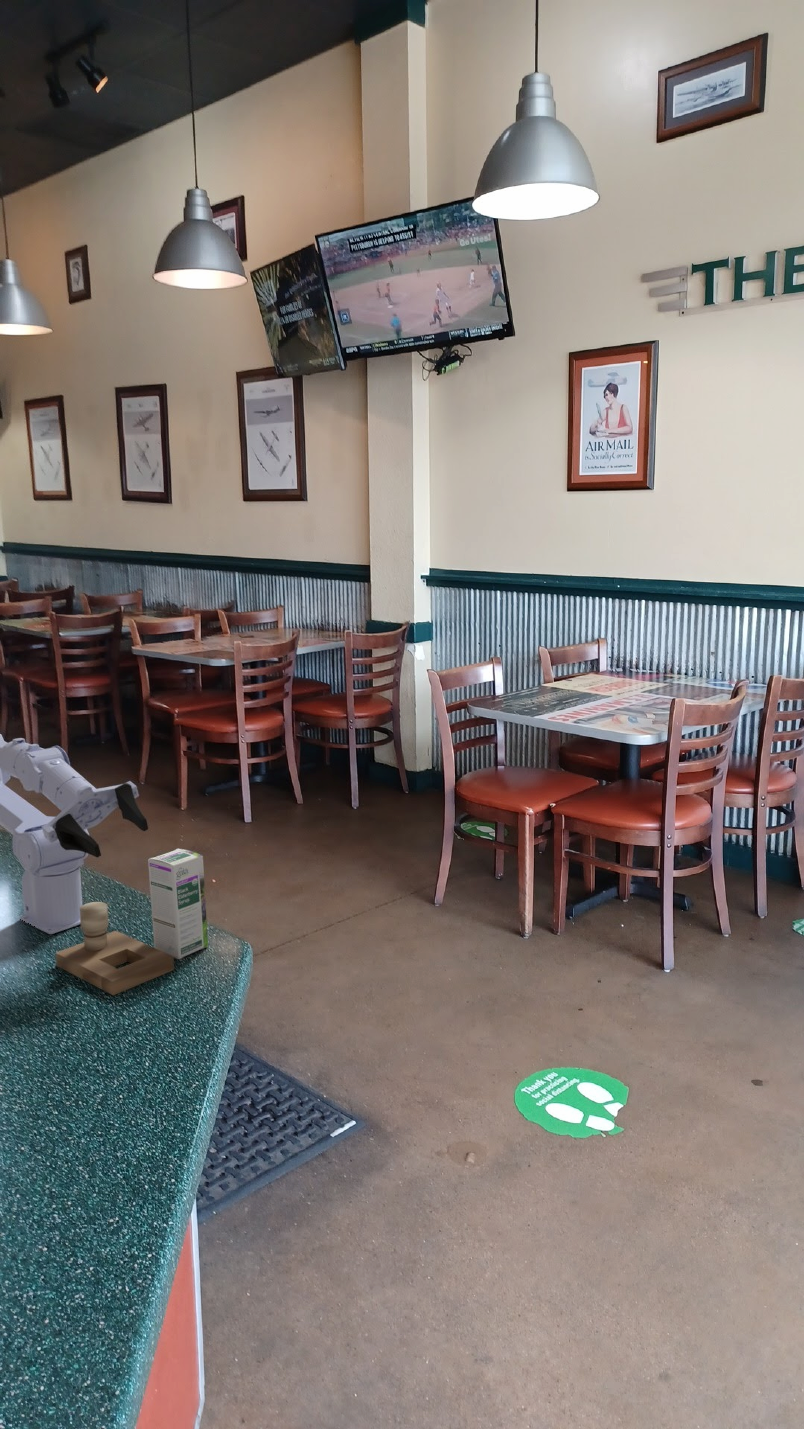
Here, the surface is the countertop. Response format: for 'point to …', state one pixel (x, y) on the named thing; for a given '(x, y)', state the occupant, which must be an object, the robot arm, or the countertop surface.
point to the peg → (94, 925)
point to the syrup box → (178, 902)
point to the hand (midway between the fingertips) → (121, 838)
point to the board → (115, 963)
